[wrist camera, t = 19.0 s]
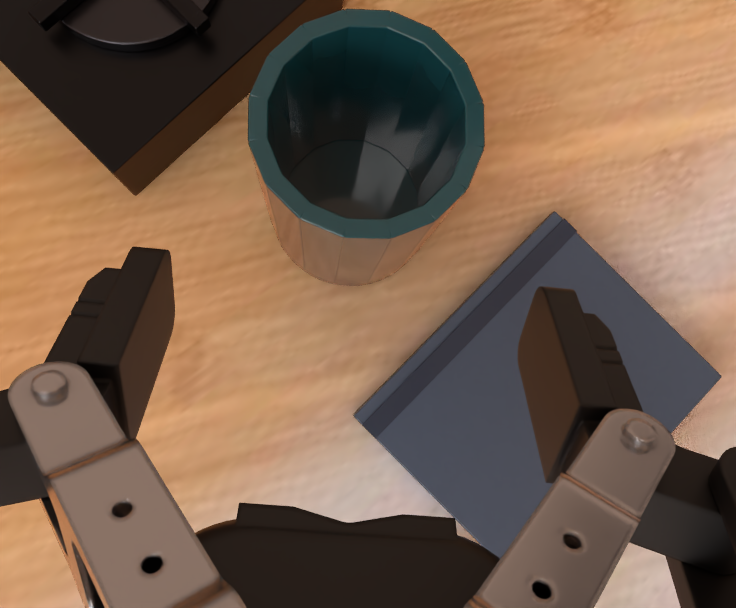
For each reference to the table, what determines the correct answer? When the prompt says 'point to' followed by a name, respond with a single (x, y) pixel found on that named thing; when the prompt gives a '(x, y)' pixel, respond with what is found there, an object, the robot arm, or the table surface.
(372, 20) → the dark teal cup
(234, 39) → the stove
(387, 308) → the table surface
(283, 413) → the table surface
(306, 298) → the table surface
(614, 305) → the grey notebook
